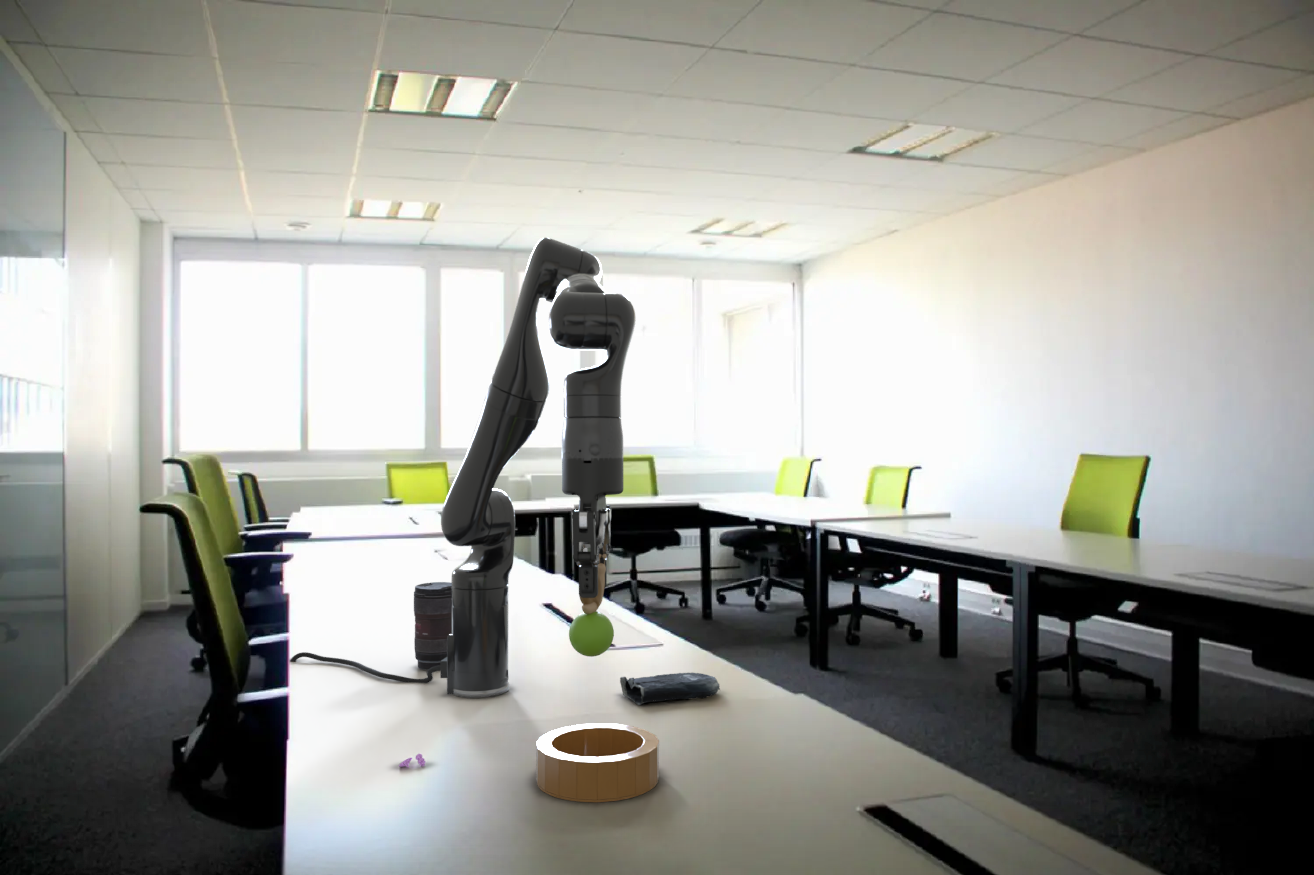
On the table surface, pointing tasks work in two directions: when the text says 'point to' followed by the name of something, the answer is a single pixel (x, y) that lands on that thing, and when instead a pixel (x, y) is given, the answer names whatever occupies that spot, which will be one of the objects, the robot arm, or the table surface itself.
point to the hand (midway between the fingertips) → (593, 592)
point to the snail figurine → (592, 623)
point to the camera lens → (432, 622)
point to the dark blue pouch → (669, 687)
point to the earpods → (407, 761)
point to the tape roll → (597, 762)
